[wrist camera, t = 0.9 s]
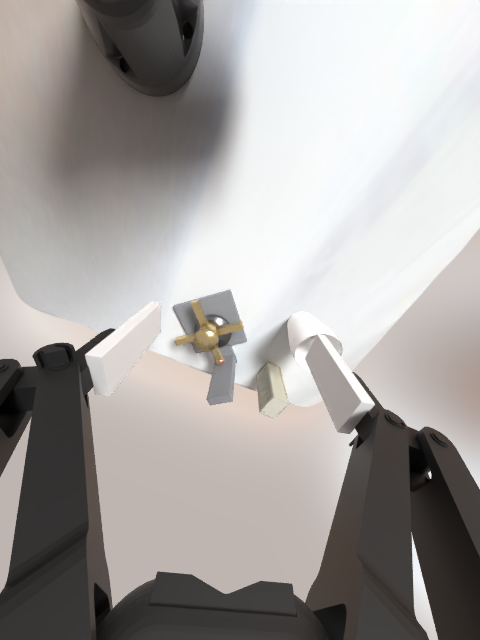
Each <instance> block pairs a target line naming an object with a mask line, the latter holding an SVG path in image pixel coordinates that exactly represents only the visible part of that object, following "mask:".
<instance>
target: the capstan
mask: <svg viewBox="0 0 480 640" xmlns="http://www.w3.org/2000/svg"><path fill="white" fill-rule="evenodd" d="M191 306H192V308H193V310H194V312H195V315H196V317H197V319H198V321H197V323H196V325H195V328H194V333H192V334H187V335H183V336H179V337H176V338H175V340H174V342H175V343H176V345H181V344H185V343H189V342H194V344H195V346H196V347H197V348H198V349H200V350H202V351H212V352H213V355H214V357H215V359H216V363H217V364H218V365H223V364H224V362H225V359H224V357H223V356H222V354H221V351H220V349H219V348H221V347H223V346H225V345H226V344H227V343H228V342H229V341H230V339H231V334H232V332H235V331H239V330H243V329H244V326H243V323H242V321H240V322H236V323H232V324H229V322H228V321H227V320H226V319H225V318H223V317H222V316H219V315H215V314H209V315H205V313H204V311H203V309H202V306H201V304H200V302H199V299H198V300H194V301H192V302H191Z"/></svg>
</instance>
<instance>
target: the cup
mask: <svg viewBox="0 0 480 640" xmlns="http://www.w3.org/2000/svg"><path fill="white" fill-rule="evenodd" d="M287 329H288V337H289V344H290V350H291V353H292V355H293V357H294V359H295V361H296V363H297V364H298V366H300V367H301V368H302V369H304V370H307V371H310V369H309V367H308V364H307V362H306V360H305V357H306V355H307V353H308V351H309V349H310V347H311V345H312V343H313V341H314V339H315V337H316V335H317V334H321V335H325V336H326V337H327V338H328V340H329V341H330V342H331V344H332V345H333V347H334V348H335V349H336V351H337V352H338V354H339V355H340V356H341V354H342V345H341V343H340V341H339V340H338V338H337V337H336V335H335V334H334V332H333V331H332V330H331V329H330V328H328V327H327V326H326V325H324V324H323V323H322V322H320V321H319V320H318V319H316V318H315V317H314V316H313V315H311V314H310V313H308V312H297V313H295V314H293V315H292V316H291V317H290V318H289V320H288V322H287Z"/></svg>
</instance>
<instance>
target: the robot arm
mask: <svg viewBox="0 0 480 640" xmlns="http://www.w3.org/2000/svg"><path fill="white" fill-rule="evenodd" d="M76 1H77V4H78V6H79V8H80V10H81V13H82V15H83V17H84V19H85V21H86V24H87V26H88V28H89V30H90V32H91V34H92V36H93V38H94V40H95V42H96V44H97V45H98V47H99V48H100V50H101V52H102V53H103V55H104V56H105V57H106V59H107V60H108V61H109V63H110V64H111V65H112V66H113V68H114V69H115V70H116V71H117V72H118V74H119V75H120V76H121V77H122V78H123V79H124V80H125V81H126V82H127V83H128V84H129V85H131V86H132V87H133V88H135V89H136V90H138V91H140V92H142V93H145V94H148V95H152V96H164V95H168V94H170V93H173V92H174V91H176V90H178V89H179V88H180V87H181V86H182V85H183V84H184V83H185V82H186V81H187V80H188V78H189V77H190V75H191V74H192V72H193V70H194V68H195V65H196V63H197V60H198V57H199V54H200V50H201V45H202V39H203V29H204V9H203V0H76ZM160 333H161V303H157V302H152V301H151V302H150V303H148V304H147V305H146V306H145V307H143V308H142V309H141V310H140V311H139V312H137V313H136V314H135V315H134V316H132V317H131V318H130V319H129V320H127V321H126V322H125V323H124V324H122V325H121V326H120V327H119V328H117V329H112V328H110V329H108V330H105V331H103V332H101V333H100V334H98V335H97V336H96V337H95V338H93V339H92V340H90V342H88V343H87V344H85V345H84V346H82V347H81V348H80V349H78V350H77V351H75V349H74V347H73V345H71V344H69V343H55V344H50V345H47V346H44V347H42V348H40V349H38V350H37V351H36V352H35V353H34V354H33V358H34V361H35V363H36V365H37V366H34V367H21V365H20V363H19V362H18V361H17V360H14V359H1V360H0V476H1V474H2V472H3V471H4V469H5V467H6V465H7V463H8V461H9V459H10V457H11V455H12V453H13V451H14V449H15V447H16V445H17V443H18V442H19V440H20V438H21V436H22V434H23V432H24V430H25V428H26V426H27V424H28V422H29V420H30V418H31V416H32V419H31V425H30V432H29V439H28V446H27V452H26V459H25V466H24V473H23V480H22V487H21V494H20V500H19V507H18V513H17V520H16V527H15V534H14V540H13V547H12V554H11V561H10V567H9V574H8V578H7V582H6V585H5V588H4V589H3V590H2V592H1V593H0V640H429V639H428V636H427V633H426V632H425V630H424V629H423V628H422V626H421V625H420V624H419V623H418V621H417V619H416V617H415V612H414V598H413V569H412V537H411V532H412V535H413V540H414V544H415V548H416V551H417V556H418V560H419V563H420V567H421V572H422V576H423V579H424V584H425V588H426V592H427V595H428V600H429V604H430V608H431V611H432V616H433V619H434V624H435V628H436V632H437V636H438V640H480V489H479V487H478V486H477V484H476V482H475V481H474V479H473V477H472V475H471V474H470V472H469V470H468V468H467V467H466V465H465V463H464V461H463V460H462V458H461V456H460V454H459V453H458V451H457V449H456V448H455V446H454V445H453V443H452V442H451V441H450V440H448V438H447V437H446V436H444V435H443V434H442V433H440V432H438V431H437V430H435V429H433V428H430V427H424V428H423V429H422V430H420V431H417V430H415V429H412V428H410V427H407V425H406V424H405V423H404V421H403V420H402V419H401V418H400V417H399V416H397V415H396V414H394V413H393V412H391V411H389V410H386V409H384V408H383V407H382V406H381V404H380V403H379V402H378V401H377V399H376V398H375V396H374V395H373V394H372V393H371V391H369V388H368V387H367V386H366V385H365V383H364V382H363V380H362V379H361V378H360V377H359V376H358V375H356V374H355V373H354V372H351V370H350V369H349V367H348V366H347V365H346V363H345V362H344V360H343V359H342V358H341V356H340V355H339V354H338V352H337V351H336V349H335V348H334V347H333V345H332V344H331V342H330V341H329V340H328V338H327V337H326V336H325V335H321V334H317V335H316V337H315V339H314V341H313V343H312V345H311V347H310V349H309V351H308V353H307V355H306V357H305V360H306V362H307V364H308V367H309V369H310V371H311V373H312V376H313V378H314V380H315V382H316V385H317V387H318V389H319V391H320V394H321V396H322V398H323V400H324V403H325V405H326V407H327V409H328V412H329V414H330V416H331V418H332V421H333V423H334V425H335V427H336V430H337V432H340V433H347V434H350V433H351V432H352V431H353V430H354V428H355V429H356V431H357V432H358V435H357V436H356V437H355V438H354V440H353V441H352V442H351V443H350V444H349V446H352V445H353V448H352V452H351V456H350V459H349V463H348V467H347V470H346V474H345V478H344V482H343V485H342V489H341V493H340V496H339V500H338V504H337V508H336V512H335V515H334V519H333V523H332V526H331V530H330V534H329V537H328V541H327V545H326V549H325V552H324V556H323V560H322V563H321V567H320V571H319V573H318V576H317V578H316V580H315V581H314V583H313V585H312V586H311V588H310V591H309V593H308V596H307V599H306V602H305V603H304V602H303V601H302V600H301V599H299V598H298V597H297V596H296V595H294V593H293V586H292V584H288V583H277V582H266V581H259V582H257V583H255V584H252V585H249V586H247V587H244V588H242V589H239V590H237V591H235V592H232V593H230V594H224V593H222V592H220V591H218V590H216V589H215V588H213V587H211V586H210V585H208V584H206V583H205V582H203V581H201V580H200V579H198V578H196V577H195V576H193V575H189V574H179V573H167V572H157V575H156V579H154V580H151V581H149V582H146V583H144V584H143V585H141V586H139V587H137V588H136V589H135V590H133V591H132V592H131V593H129V594H128V595H127V596H125V597H124V598H123V599H122V600H121V601H120V602H119V603H118V604H117V605H116V606H115V607H114V608H113V607H112V598H111V588H110V580H109V573H108V568H107V562H106V558H105V551H104V543H103V532H102V523H101V513H100V503H99V495H98V484H97V474H96V465H95V455H94V446H93V436H92V426H91V418H90V407H89V397H88V394H87V393H88V392H89V391H90V390H91V388H94V392H95V394H97V395H103V396H109V397H110V396H111V394H112V393H113V392H114V391H115V389H116V388H117V387H118V385H119V384H120V383H121V382H122V381H123V379H124V378H125V377H126V375H127V374H128V373H129V372H130V370H131V369H132V368H133V367H134V365H135V364H136V363H137V361H138V360H139V359H140V358H141V356H142V355H143V354H144V353H145V351H146V350H147V349H148V348H149V346H150V345H151V344H152V343H153V341H154V340H155V339H156V338H157V336H158V335H159V334H160ZM430 471H431V474H432V477H431V479H430V478H429V475H428V472H430Z"/></svg>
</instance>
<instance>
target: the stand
mask: <svg viewBox="0 0 480 640" xmlns="http://www.w3.org/2000/svg"><path fill="white" fill-rule="evenodd" d="M198 299H199V302H200V304H201V306H202V309H203V311H204V313H205V315H209V314H215V315H219V316H222V317H223V318H225V319H226V320H227V321H228V322H229V324H232V323H236V322H240V321H241V320H240V317H239V314H238V311H237V308H236V305H235V302H234V299H233V296H232V293H231V290H227V291H223V292H220V293H216V294H213V295H209V296H206V297H202V298H198ZM198 299H195V300H198ZM192 301H194V300H191V301H188V302H184V303H181V304H177V305H174V306H173V307H174V309H175V311H176V313H177V315H178V317H179V319H180V321H181V323H182V325H183V327H184V329H185V332H186V334H192V333H194V328H195V325H196V323H197V321H198V319H197V317H196V315H195V312H194V310H193V308H192V306H191V302H192ZM243 342H247V339H246V336H245V333H244V330H239V331H235V332H232V334H231V339H230V341H229V342H228V343H227V344H226V345H225V346H223V347H221V348H219V349H220V351H221V354H222V356H223V357H224V359H225V362H224V364H223V365H218V364H217V363H216V360H215V365H214V369H213V374H212V378H211V382H210V387H209V392H208V395H207V401H208V402H209V404H210V405H215V404H221V403H226V402H232V401H233V389H234V377H235V364H236V363H237V359H236V357H235V354H234V351H233V349H232V346H231V345H235V344H239V343H243ZM191 344H192V346H193V348H194V350H195V352H196V353H200V352H204V351H202V350H200V349H198V348H197V347H196V346H195V344H194V342H191Z"/></svg>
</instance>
